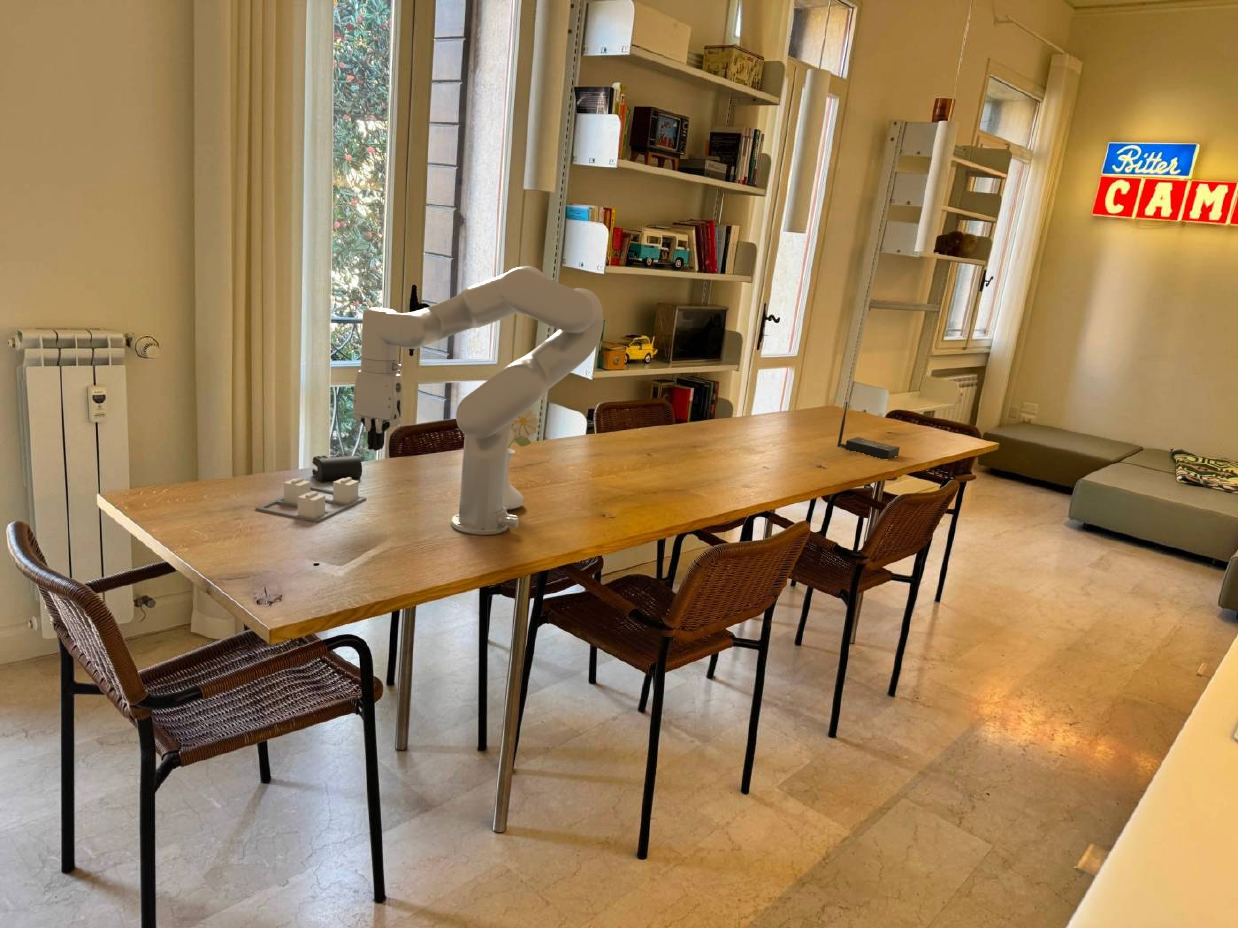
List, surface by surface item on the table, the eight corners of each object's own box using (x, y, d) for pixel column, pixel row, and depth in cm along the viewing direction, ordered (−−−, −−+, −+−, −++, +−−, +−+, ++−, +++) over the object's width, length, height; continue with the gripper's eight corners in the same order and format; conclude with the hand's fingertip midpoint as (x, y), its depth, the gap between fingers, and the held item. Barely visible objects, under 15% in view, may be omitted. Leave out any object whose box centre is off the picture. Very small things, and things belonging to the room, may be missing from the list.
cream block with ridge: (310, 500, 194) (310, 479, 192) (299, 505, 190) (300, 483, 189) (294, 497, 195) (294, 475, 193) (283, 501, 191) (284, 480, 190)
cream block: (324, 515, 186) (325, 493, 185) (314, 520, 182) (314, 497, 181) (308, 511, 187) (308, 489, 185) (297, 516, 183) (297, 494, 182)
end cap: (322, 489, 206) (322, 462, 205) (310, 481, 212) (311, 454, 210) (362, 485, 213) (363, 458, 211) (349, 477, 218) (350, 451, 216)
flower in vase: (479, 513, 202) (486, 408, 196) (473, 498, 213) (481, 397, 206) (534, 514, 206) (543, 411, 200) (526, 499, 217) (535, 401, 210)
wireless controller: (899, 456, 315) (908, 410, 311) (885, 462, 305) (894, 414, 300) (847, 444, 327) (856, 399, 322) (832, 448, 316) (840, 402, 311)
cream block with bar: (357, 499, 198) (358, 478, 197) (348, 504, 194) (349, 482, 193) (342, 496, 199) (343, 475, 198) (332, 500, 195) (333, 479, 194)
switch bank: (368, 505, 199) (368, 497, 198) (319, 529, 181) (319, 521, 181) (291, 489, 204) (291, 482, 203) (236, 511, 186) (236, 503, 185)
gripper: (419, 369, 189) (414, 451, 194) (357, 359, 192) (354, 439, 197) (402, 373, 182) (397, 458, 186) (338, 363, 185) (335, 446, 190)
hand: (375, 448), depth 192 cm, fingers closed
